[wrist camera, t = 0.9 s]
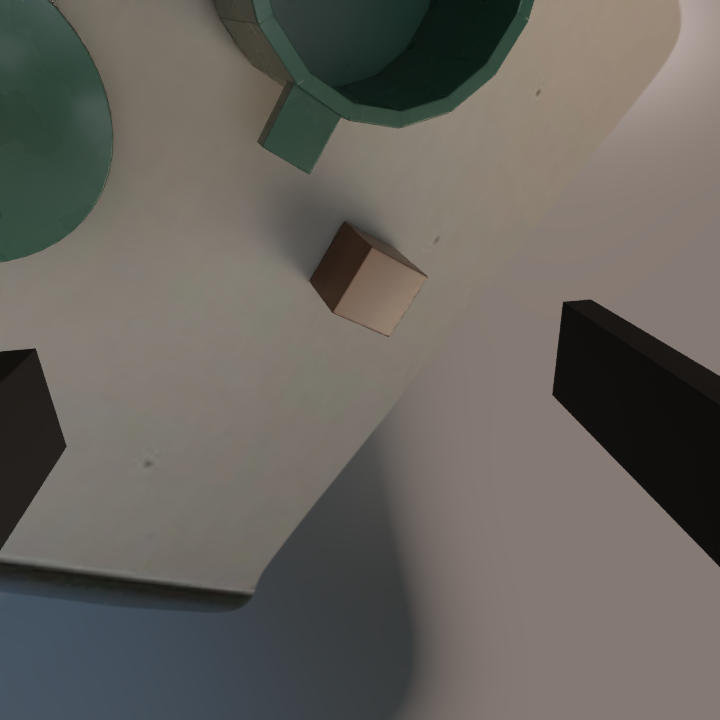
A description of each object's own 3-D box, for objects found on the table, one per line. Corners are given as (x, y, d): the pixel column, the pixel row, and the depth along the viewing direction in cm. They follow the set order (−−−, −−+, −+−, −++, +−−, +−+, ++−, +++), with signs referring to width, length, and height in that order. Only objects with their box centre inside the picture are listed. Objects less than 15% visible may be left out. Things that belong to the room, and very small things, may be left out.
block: (309, 281, 35) (331, 313, 32) (344, 220, 34) (372, 246, 31) (362, 306, 38) (389, 337, 35) (397, 250, 37) (428, 277, 33)
